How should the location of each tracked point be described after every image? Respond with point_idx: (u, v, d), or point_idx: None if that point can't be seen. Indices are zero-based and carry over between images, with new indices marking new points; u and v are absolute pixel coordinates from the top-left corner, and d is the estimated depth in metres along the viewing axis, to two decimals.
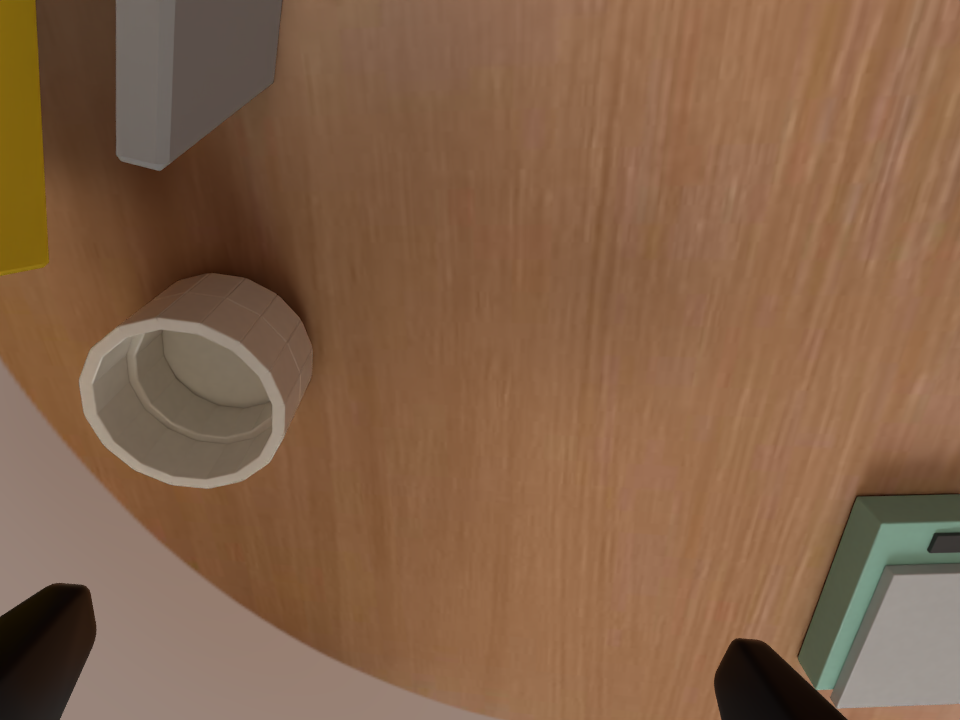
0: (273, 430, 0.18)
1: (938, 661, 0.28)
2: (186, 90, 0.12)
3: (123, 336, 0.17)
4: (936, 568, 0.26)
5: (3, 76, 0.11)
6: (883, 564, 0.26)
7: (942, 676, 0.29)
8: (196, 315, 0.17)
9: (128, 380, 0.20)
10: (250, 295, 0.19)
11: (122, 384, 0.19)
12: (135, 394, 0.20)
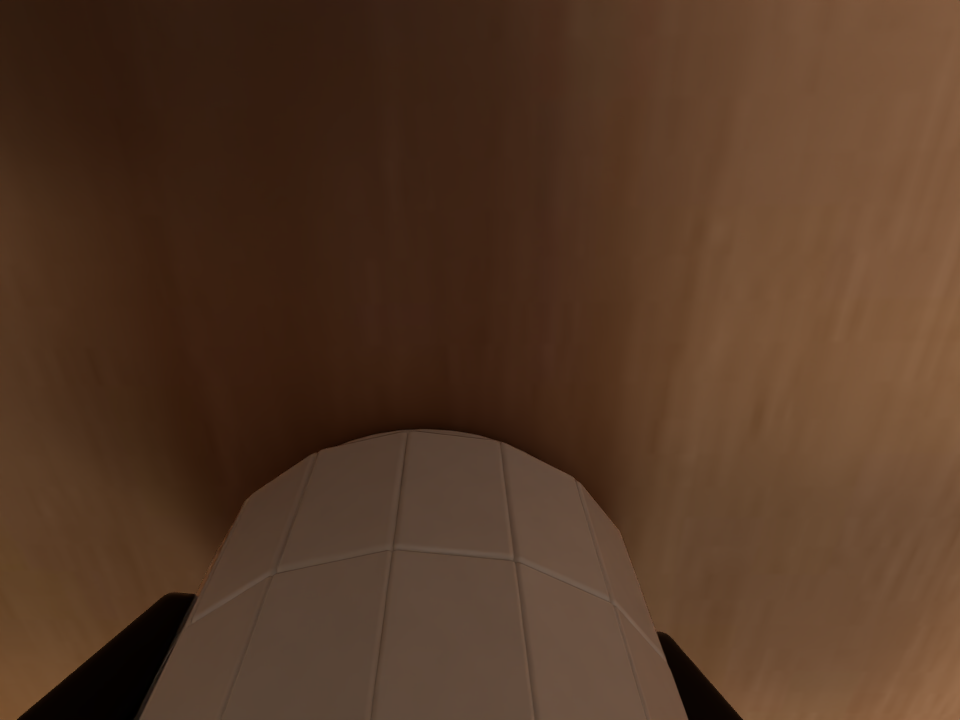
0: None
1: None
2: None
3: None
4: None
5: None
6: None
7: None
8: None
9: None
10: (547, 513, 0.07)
11: None
12: None
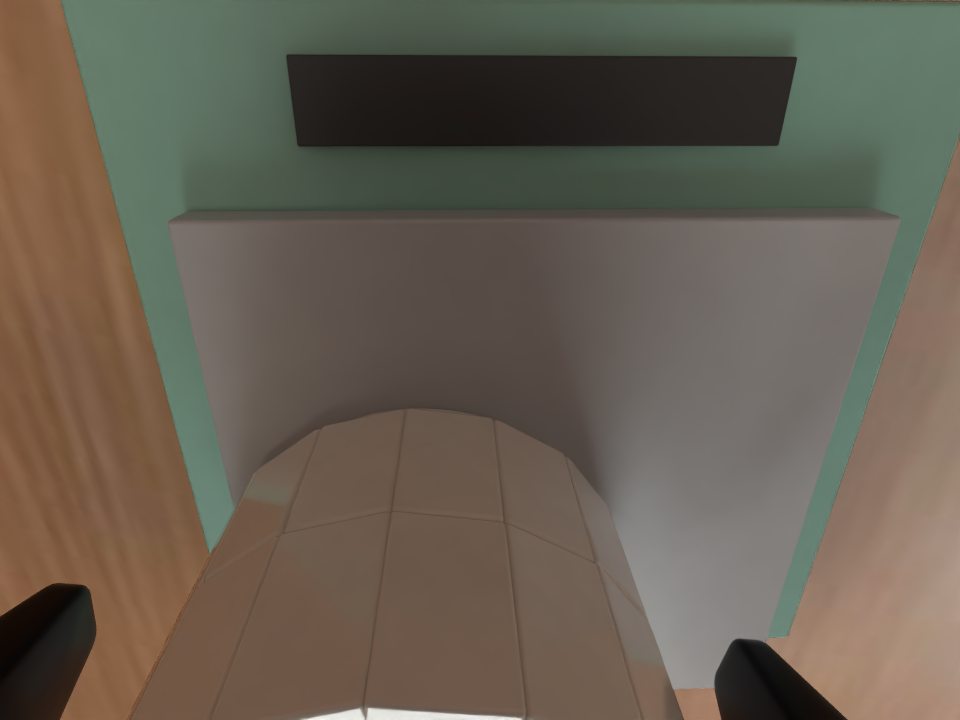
0: None
1: None
2: None
3: None
4: (344, 213, 0.07)
5: None
6: (177, 206, 0.08)
7: None
8: (489, 656, 0.05)
9: None
10: (537, 483, 0.07)
11: None
12: None
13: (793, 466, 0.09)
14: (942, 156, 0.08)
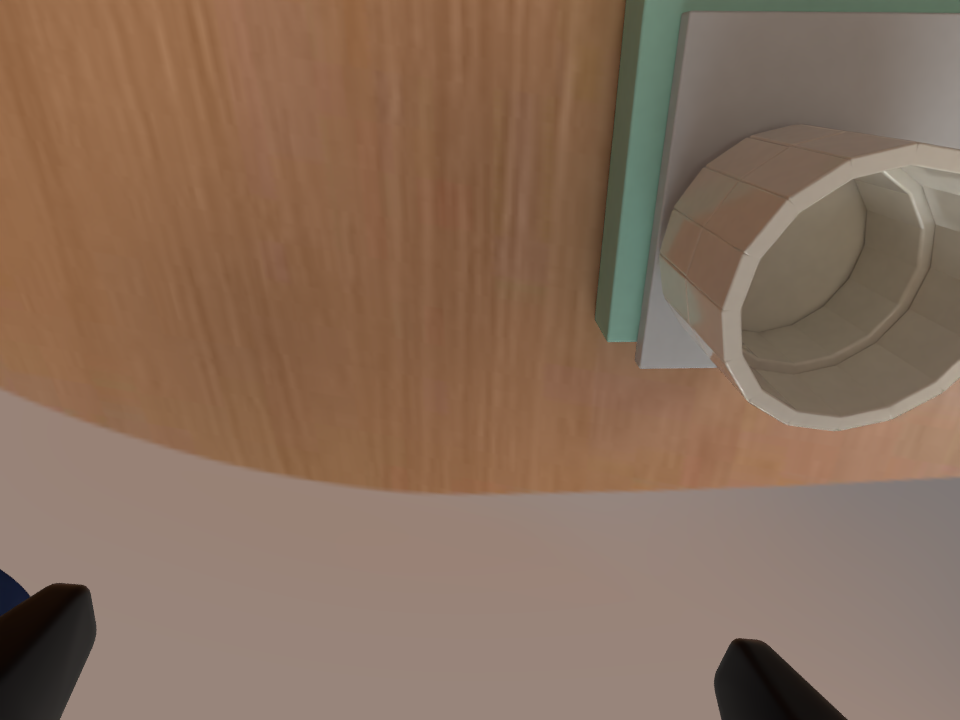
0: None
1: None
2: None
3: (849, 176, 0.11)
4: (774, 11, 0.14)
5: None
6: (677, 10, 0.14)
7: None
8: None
9: None
10: None
11: None
12: None
13: None
14: None
